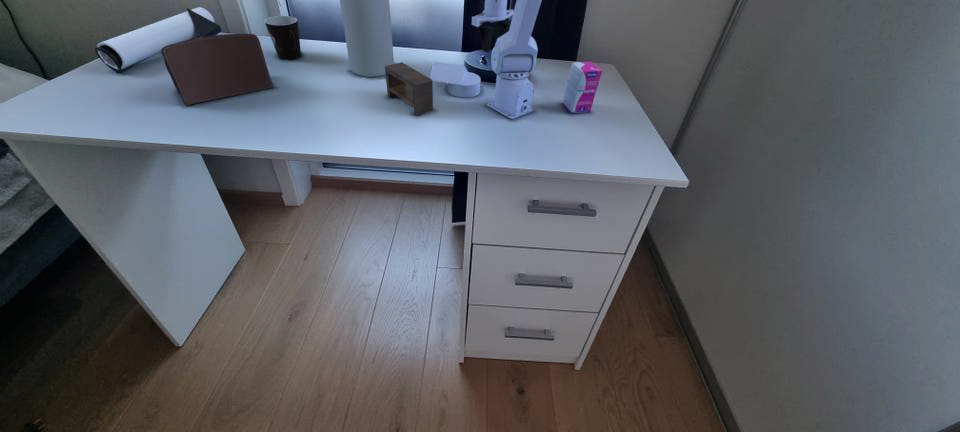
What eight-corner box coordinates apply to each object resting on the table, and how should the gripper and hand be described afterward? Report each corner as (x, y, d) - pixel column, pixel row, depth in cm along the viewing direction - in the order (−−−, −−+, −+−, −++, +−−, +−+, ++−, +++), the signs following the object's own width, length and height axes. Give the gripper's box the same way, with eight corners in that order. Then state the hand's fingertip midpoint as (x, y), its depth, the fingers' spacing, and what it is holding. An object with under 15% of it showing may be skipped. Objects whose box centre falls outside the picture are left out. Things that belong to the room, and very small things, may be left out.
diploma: (122, 87, 104) (143, 61, 97) (86, 56, 99) (105, 26, 93) (213, 43, 130) (234, 21, 123) (188, 17, 125) (208, -8, 119)
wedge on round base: (429, 92, 106) (476, 99, 105) (428, 67, 102) (477, 74, 100) (438, 79, 113) (482, 85, 112) (438, 55, 108) (484, 62, 107)
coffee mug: (275, 51, 120) (265, 16, 113) (305, 50, 122) (297, 15, 116) (272, 66, 112) (261, 29, 105) (304, 64, 114) (296, 28, 107)
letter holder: (274, 88, 102) (257, 30, 93) (186, 106, 92) (157, 44, 82) (261, 74, 107) (244, 19, 98) (176, 90, 97) (148, 30, 88)
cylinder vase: (373, 81, 109) (361, -22, 92) (341, 69, 113) (323, -31, 97) (403, 68, 117) (397, -29, 100) (371, 57, 121) (360, -38, 105)
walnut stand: (433, 110, 99) (432, 79, 93) (416, 116, 96) (415, 84, 91) (403, 91, 105) (401, 61, 100) (387, 96, 103) (384, 66, 97)
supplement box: (571, 114, 102) (581, 71, 95) (561, 104, 106) (571, 61, 99) (590, 113, 104) (603, 70, 96) (580, 102, 108) (591, 60, 100)
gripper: (505, -12, 107) (500, 40, 116) (465, -6, 99) (462, 49, 108) (524, -5, 103) (517, 48, 112) (483, 1, 95) (480, 58, 105)
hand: (491, 49), depth 110 cm, fingers open, 4 cm apart
